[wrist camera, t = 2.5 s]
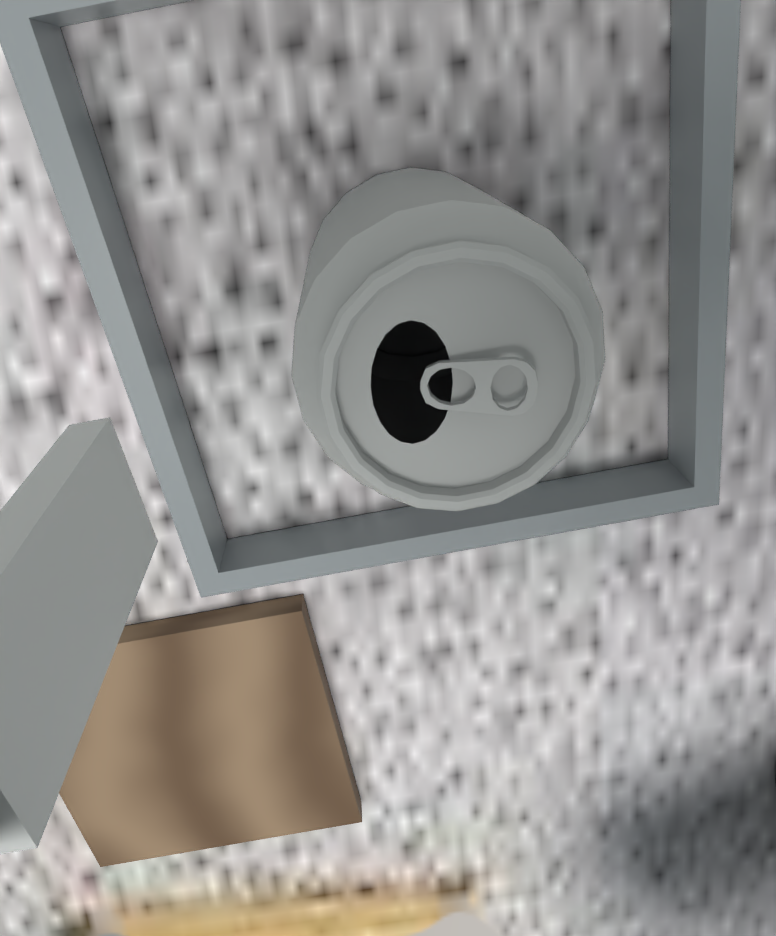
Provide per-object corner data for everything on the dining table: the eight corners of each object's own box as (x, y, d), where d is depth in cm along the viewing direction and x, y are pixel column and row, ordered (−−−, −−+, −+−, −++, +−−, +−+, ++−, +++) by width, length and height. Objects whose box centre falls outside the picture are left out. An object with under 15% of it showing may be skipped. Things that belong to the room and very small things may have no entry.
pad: (303, 594, 32) (301, 610, 31) (361, 802, 39) (362, 822, 37) (-1, 648, 33) (-12, 666, 31) (107, 845, 39) (100, 866, 38)
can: (299, 169, 24) (267, 218, 14) (517, 161, 25) (654, 201, 14) (316, 379, 28) (301, 549, 17) (508, 369, 28) (612, 530, 17)
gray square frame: (705, -144, 21) (747, -173, 19) (691, 475, 31) (718, 504, 28) (15, -5, 22) (-22, -18, 19) (210, 562, 31) (200, 597, 29)
